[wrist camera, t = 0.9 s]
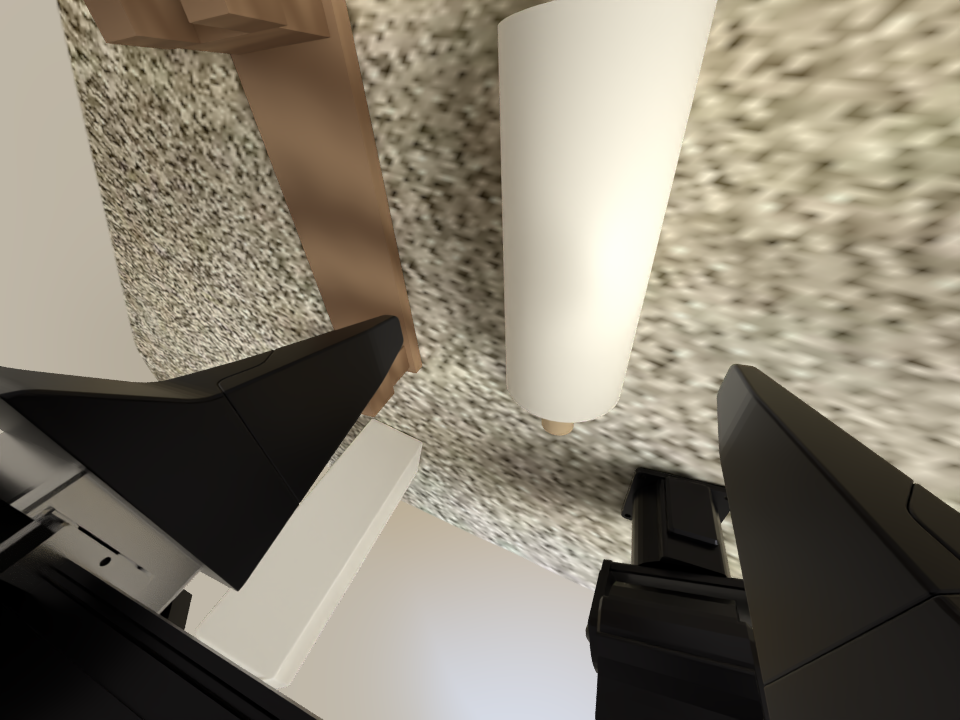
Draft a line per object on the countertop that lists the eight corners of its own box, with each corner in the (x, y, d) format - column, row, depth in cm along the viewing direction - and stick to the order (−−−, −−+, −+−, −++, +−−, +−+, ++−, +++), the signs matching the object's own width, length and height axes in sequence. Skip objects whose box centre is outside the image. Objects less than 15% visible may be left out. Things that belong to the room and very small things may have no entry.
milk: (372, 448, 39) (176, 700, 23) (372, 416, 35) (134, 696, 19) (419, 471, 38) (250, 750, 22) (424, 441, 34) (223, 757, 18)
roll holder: (422, 365, 27) (376, 422, 23) (352, 352, 30) (296, 401, 25) (336, -42, 14) (184, -111, 10) (223, -10, 17) (54, -54, 12)
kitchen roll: (613, 400, 23) (606, 478, 18) (521, 382, 25) (493, 449, 20) (741, -151, 10) (833, -379, 5) (527, -92, 12) (452, -216, 7)
